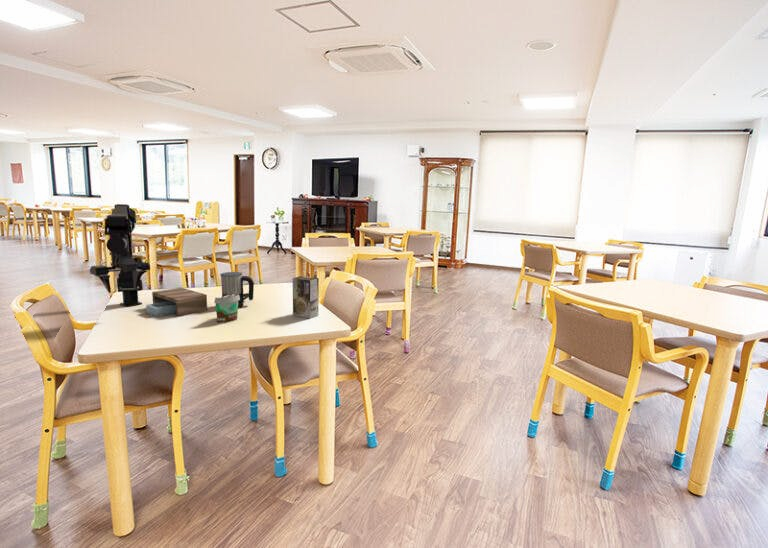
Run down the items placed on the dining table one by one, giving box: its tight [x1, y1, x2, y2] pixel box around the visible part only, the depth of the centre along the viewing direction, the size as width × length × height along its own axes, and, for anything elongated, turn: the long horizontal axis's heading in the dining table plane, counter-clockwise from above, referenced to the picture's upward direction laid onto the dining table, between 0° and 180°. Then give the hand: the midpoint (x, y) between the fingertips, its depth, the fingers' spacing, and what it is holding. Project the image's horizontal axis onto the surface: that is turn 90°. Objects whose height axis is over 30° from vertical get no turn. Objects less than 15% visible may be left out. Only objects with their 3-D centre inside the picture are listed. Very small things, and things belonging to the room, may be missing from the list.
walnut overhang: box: [151, 286, 208, 318], centre depth 178 cm, size 20×12×7 cm, turn 55°
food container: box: [214, 292, 240, 323], centre depth 167 cm, size 12×6×10 cm, turn 168°
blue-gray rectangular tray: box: [145, 301, 176, 318], centre depth 176 cm, size 8×16×4 cm, turn 145°
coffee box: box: [292, 275, 320, 319], centre depth 176 cm, size 9×6×16 cm
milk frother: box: [219, 271, 255, 309], centre depth 190 cm, size 14×16×15 cm
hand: (122, 290), depth 159 cm, fingers open, 9 cm apart
